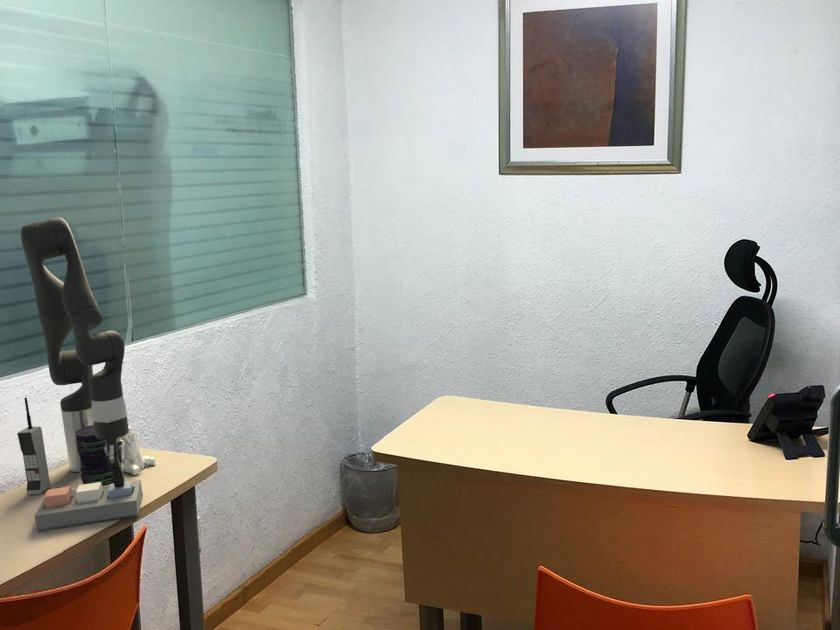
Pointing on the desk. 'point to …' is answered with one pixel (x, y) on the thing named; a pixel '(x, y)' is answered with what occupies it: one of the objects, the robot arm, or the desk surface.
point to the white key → (89, 492)
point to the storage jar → (92, 457)
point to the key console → (90, 510)
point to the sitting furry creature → (134, 454)
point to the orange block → (58, 497)
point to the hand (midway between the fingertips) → (119, 485)
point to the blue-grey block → (120, 490)
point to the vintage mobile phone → (34, 457)
